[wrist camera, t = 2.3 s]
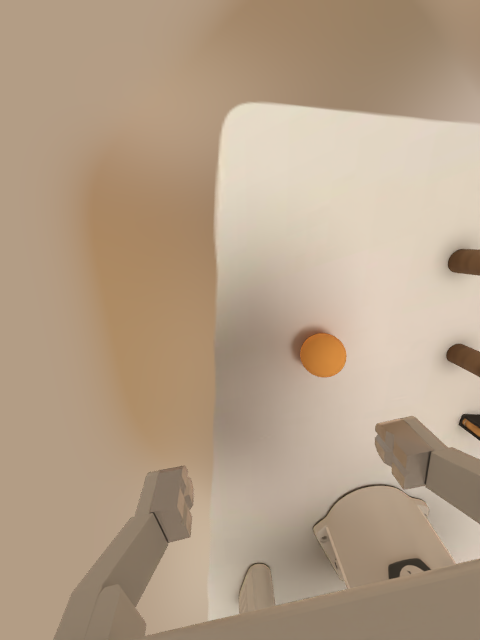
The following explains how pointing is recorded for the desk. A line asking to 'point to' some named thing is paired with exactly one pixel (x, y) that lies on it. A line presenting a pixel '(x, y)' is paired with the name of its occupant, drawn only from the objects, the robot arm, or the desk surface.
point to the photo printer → (256, 589)
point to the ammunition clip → (471, 424)
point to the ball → (323, 355)
